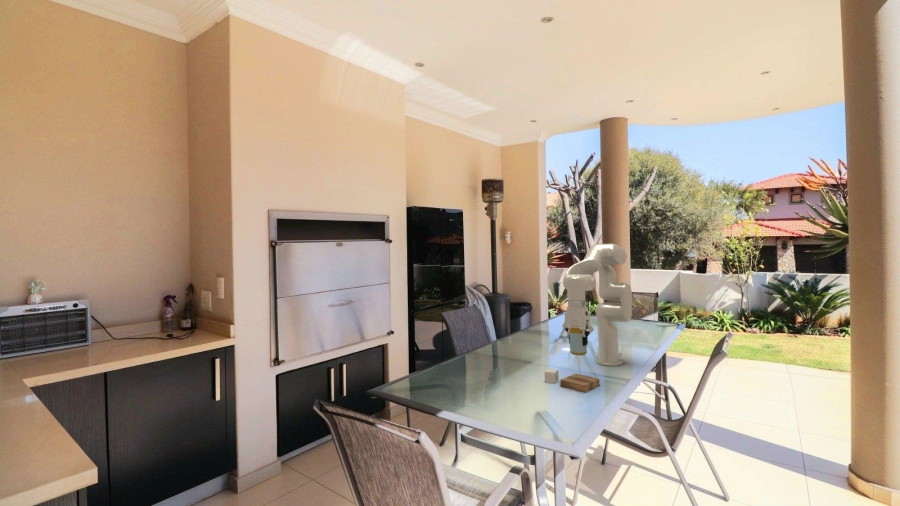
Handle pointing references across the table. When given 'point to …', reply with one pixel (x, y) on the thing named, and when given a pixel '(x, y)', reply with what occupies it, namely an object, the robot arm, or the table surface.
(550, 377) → the stone cube
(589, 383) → the plinth
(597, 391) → the table surface
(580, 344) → the bottle
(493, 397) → the table surface
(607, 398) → the table surface
